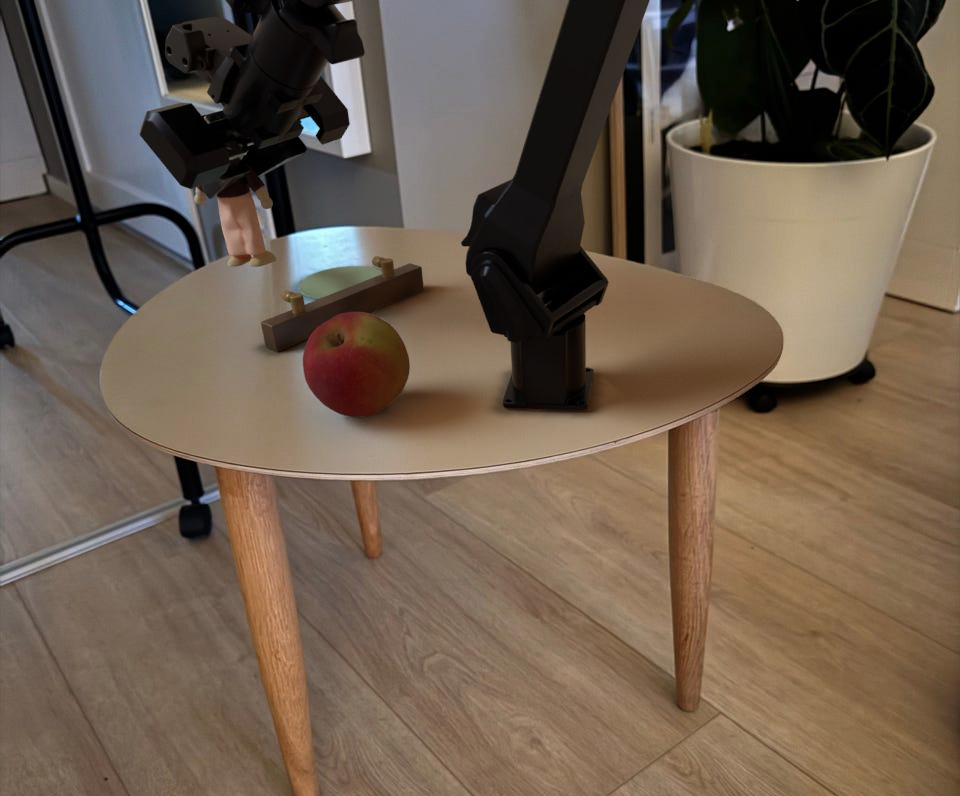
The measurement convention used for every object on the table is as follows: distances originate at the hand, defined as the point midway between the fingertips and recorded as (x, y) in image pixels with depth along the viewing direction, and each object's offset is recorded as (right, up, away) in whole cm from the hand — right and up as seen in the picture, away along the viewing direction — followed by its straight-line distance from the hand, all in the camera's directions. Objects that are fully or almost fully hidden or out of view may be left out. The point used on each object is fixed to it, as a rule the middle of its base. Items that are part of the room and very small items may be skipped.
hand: (220, 189), depth 85 cm
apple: (+14, -21, -12) cm, 28 cm away
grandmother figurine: (+2, -6, +3) cm, 7 cm away
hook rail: (+7, -9, +8) cm, 14 cm away
